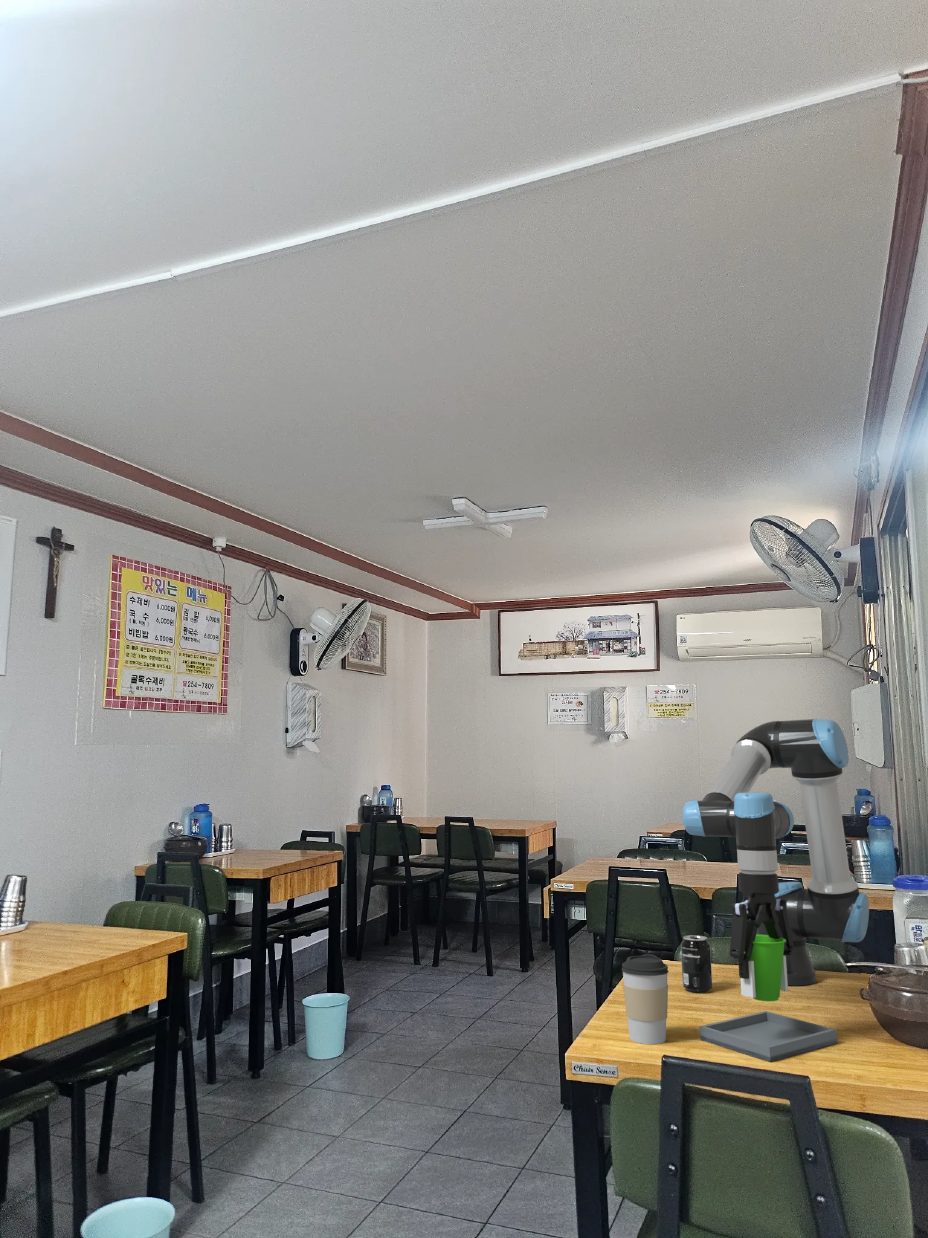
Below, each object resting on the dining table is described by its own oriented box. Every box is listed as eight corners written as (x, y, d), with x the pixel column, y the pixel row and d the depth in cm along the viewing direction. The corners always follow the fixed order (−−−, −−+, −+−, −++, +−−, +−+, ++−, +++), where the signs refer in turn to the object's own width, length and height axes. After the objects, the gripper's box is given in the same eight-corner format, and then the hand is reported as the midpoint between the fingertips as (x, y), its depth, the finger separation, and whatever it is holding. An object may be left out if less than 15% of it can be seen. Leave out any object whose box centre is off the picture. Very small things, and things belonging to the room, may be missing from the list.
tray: (766, 1023, 175) (765, 1011, 176) (837, 1043, 162) (836, 1029, 163) (699, 1039, 164) (699, 1026, 165) (770, 1062, 151) (769, 1047, 152)
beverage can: (701, 986, 207) (699, 934, 209) (718, 993, 201) (715, 939, 203) (677, 988, 205) (674, 936, 207) (693, 995, 199) (690, 940, 201)
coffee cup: (662, 1049, 159) (658, 963, 162) (616, 1041, 164) (613, 958, 166) (677, 1037, 166) (674, 955, 169) (633, 1029, 171) (630, 950, 174)
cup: (793, 1005, 159) (789, 943, 162) (743, 1003, 161) (739, 941, 163) (786, 994, 168) (782, 935, 170) (738, 991, 170) (734, 933, 172)
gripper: (776, 867, 178) (783, 982, 174) (705, 873, 166) (711, 996, 162) (808, 870, 172) (816, 989, 168) (736, 876, 160) (744, 1005, 156)
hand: (765, 993), depth 165 cm, fingers closed on cup, 9 cm apart
